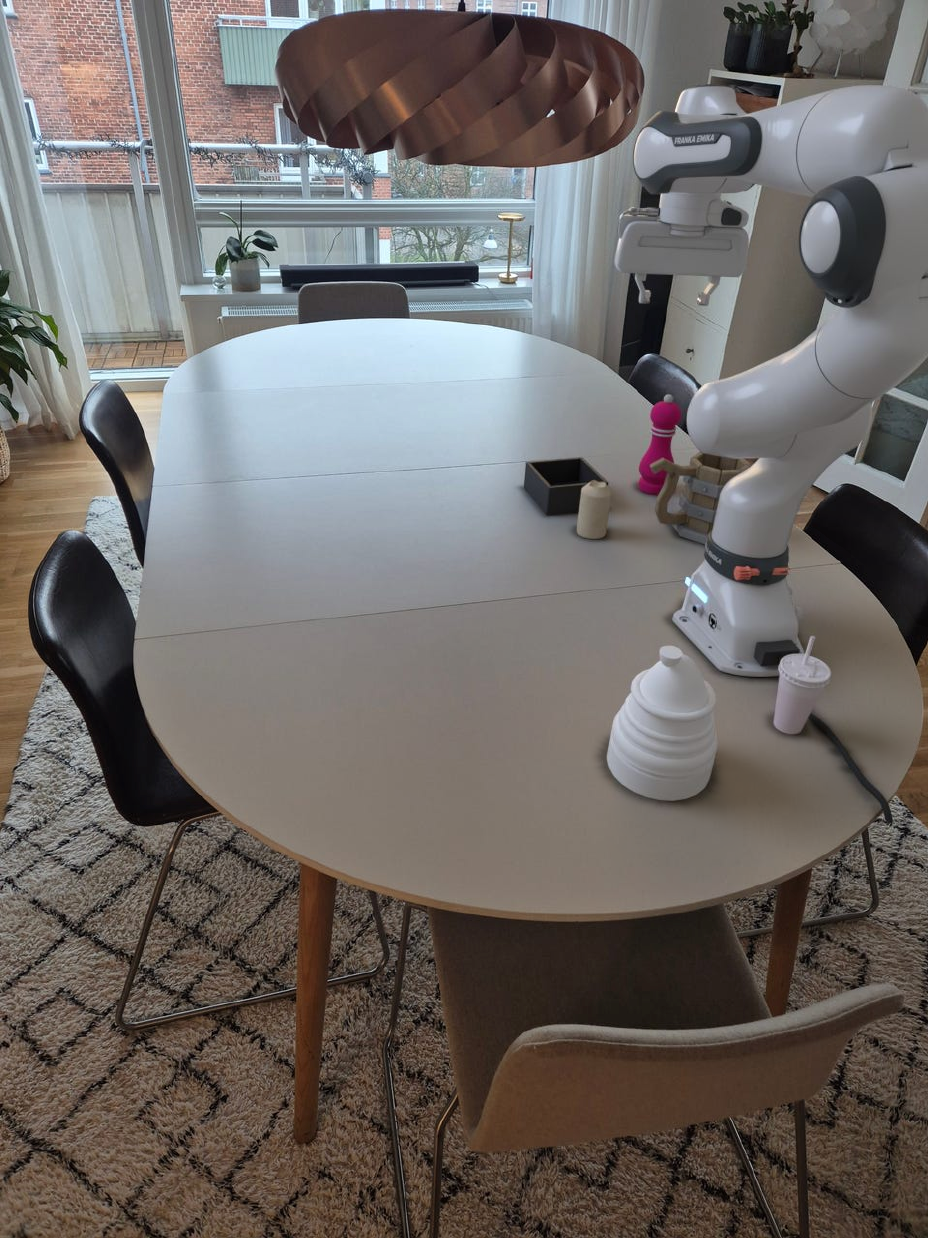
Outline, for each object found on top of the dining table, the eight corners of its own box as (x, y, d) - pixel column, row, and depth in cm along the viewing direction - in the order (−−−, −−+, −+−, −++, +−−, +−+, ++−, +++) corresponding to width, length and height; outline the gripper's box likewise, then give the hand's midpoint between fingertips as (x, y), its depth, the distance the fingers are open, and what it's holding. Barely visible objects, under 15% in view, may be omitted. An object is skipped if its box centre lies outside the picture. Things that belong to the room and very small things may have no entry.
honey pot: (660, 816, 102) (687, 694, 92) (585, 754, 110) (603, 637, 100) (731, 773, 108) (764, 656, 98) (656, 718, 117) (678, 605, 107)
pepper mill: (670, 497, 177) (688, 402, 166) (635, 493, 178) (650, 398, 167) (670, 483, 183) (687, 390, 172) (636, 479, 184) (650, 386, 173)
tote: (604, 509, 171) (608, 482, 168) (546, 515, 168) (549, 487, 165) (579, 482, 181) (582, 456, 178) (523, 488, 178) (525, 461, 175)
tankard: (724, 513, 171) (740, 441, 163) (751, 543, 161) (770, 468, 153) (627, 517, 168) (639, 444, 160) (649, 548, 158) (662, 471, 150)
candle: (570, 528, 163) (576, 479, 158) (595, 523, 165) (602, 475, 160) (586, 541, 159) (592, 491, 154) (611, 536, 161) (618, 487, 156)
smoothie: (802, 710, 119) (829, 625, 112) (820, 741, 114) (849, 654, 106) (756, 710, 119) (780, 625, 111) (772, 741, 114) (798, 654, 106)
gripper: (623, 209, 129) (611, 305, 136) (759, 215, 129) (740, 310, 137) (617, 203, 134) (606, 296, 142) (748, 209, 135) (730, 301, 142)
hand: (673, 303), depth 139 cm, fingers open, 8 cm apart
